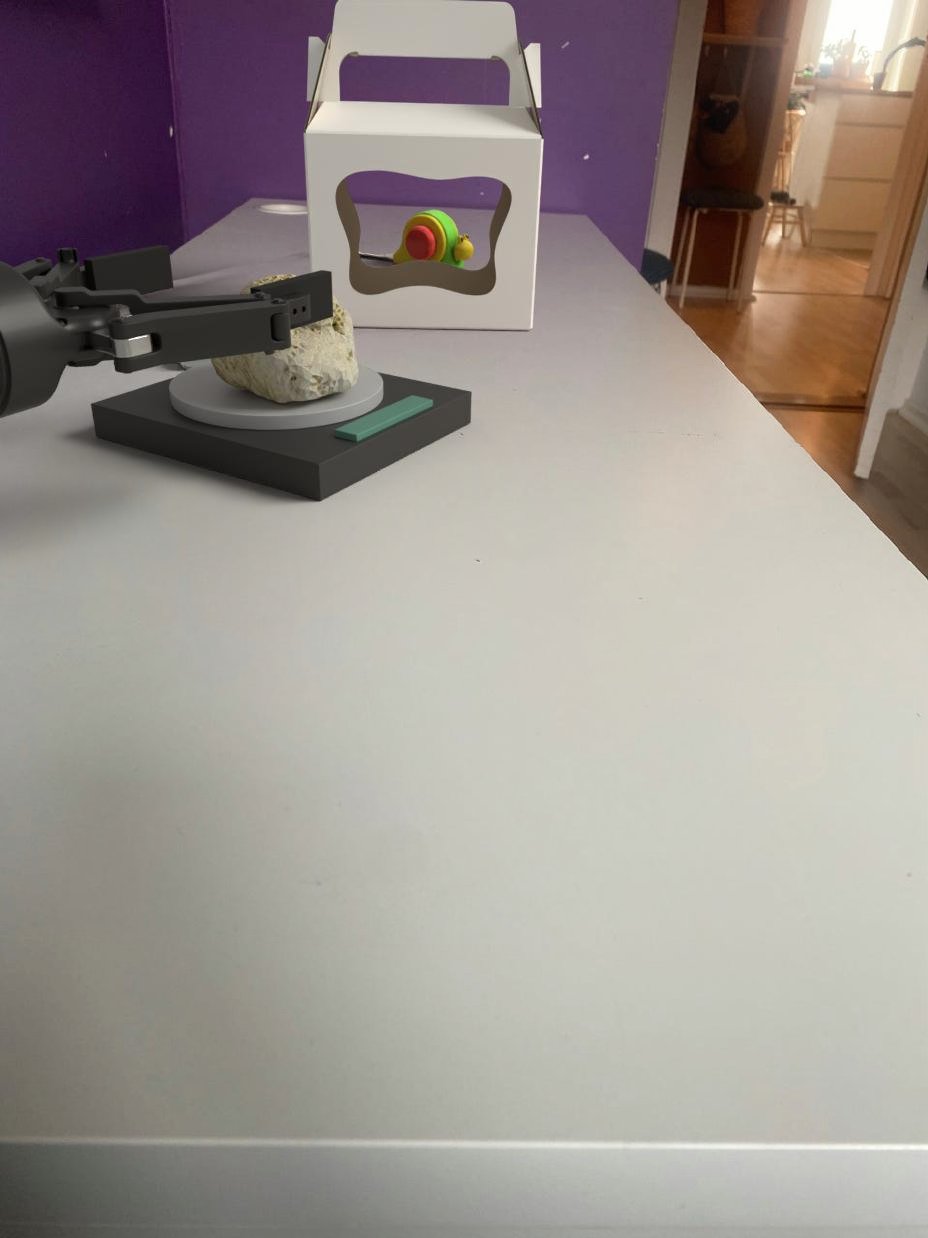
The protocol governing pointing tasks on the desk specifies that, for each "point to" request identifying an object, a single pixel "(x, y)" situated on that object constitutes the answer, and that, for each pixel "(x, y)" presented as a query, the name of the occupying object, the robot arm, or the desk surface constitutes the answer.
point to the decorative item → (297, 360)
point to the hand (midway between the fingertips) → (244, 279)
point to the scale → (284, 427)
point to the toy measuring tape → (431, 241)
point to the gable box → (426, 163)
